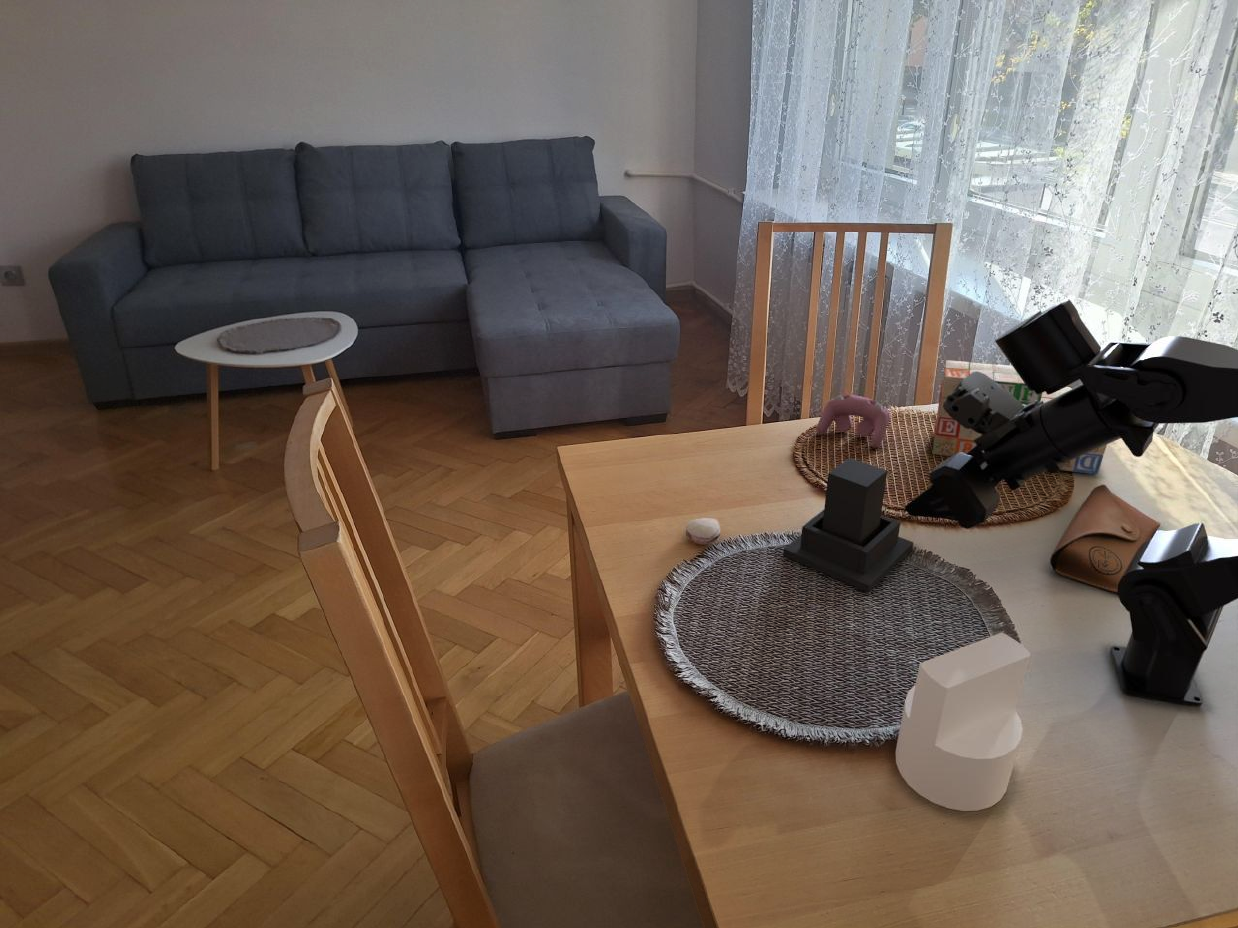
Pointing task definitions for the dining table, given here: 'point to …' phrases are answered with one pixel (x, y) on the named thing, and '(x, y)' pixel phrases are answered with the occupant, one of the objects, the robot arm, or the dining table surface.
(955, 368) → the stack of blocks
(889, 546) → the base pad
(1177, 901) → the dining table surface
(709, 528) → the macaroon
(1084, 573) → the sunglasses case
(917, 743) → the cylinder with rectangular tab
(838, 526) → the black pad block
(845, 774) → the dining table surface
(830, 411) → the video game controller
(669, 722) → the dining table surface
